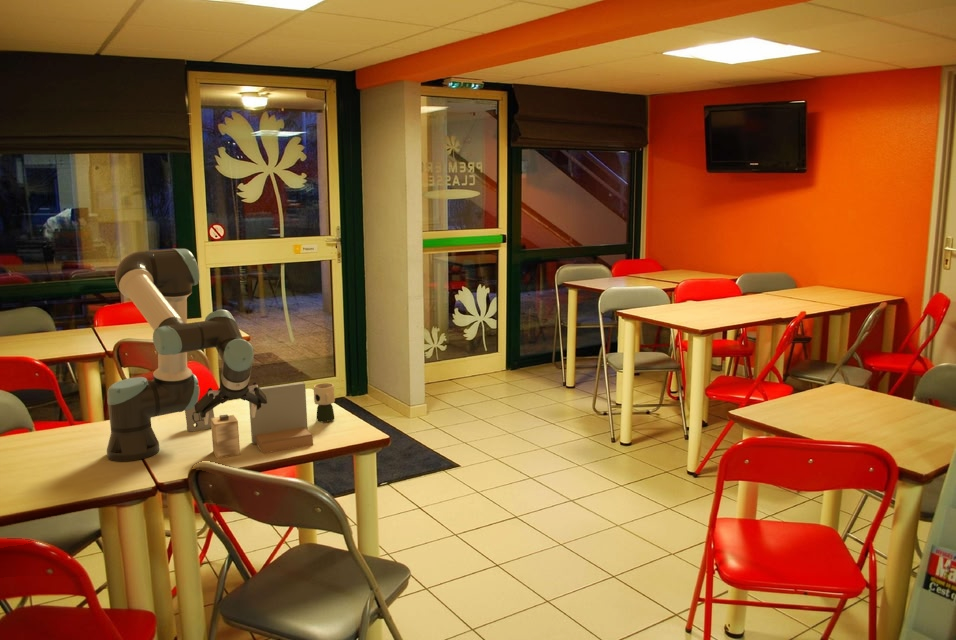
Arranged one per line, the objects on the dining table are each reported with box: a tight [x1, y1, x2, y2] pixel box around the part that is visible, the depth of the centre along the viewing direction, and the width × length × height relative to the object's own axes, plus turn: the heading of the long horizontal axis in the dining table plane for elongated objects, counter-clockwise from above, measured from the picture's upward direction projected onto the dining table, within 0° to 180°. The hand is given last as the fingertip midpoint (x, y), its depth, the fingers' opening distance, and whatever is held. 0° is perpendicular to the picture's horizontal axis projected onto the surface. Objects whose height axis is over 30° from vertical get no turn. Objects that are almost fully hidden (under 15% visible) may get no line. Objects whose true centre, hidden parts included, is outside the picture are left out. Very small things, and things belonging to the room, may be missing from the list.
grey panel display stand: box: [248, 381, 314, 454], centre depth 251 cm, size 18×12×18 cm, turn 117°
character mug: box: [313, 382, 336, 423], centre depth 275 cm, size 11×7×13 cm, turn 25°
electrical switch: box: [184, 406, 215, 433], centre depth 269 cm, size 9×5×9 cm, turn 121°
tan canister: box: [210, 414, 241, 459], centre depth 244 cm, size 7×7×12 cm
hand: (229, 417), depth 233 cm, fingers open, 13 cm apart
